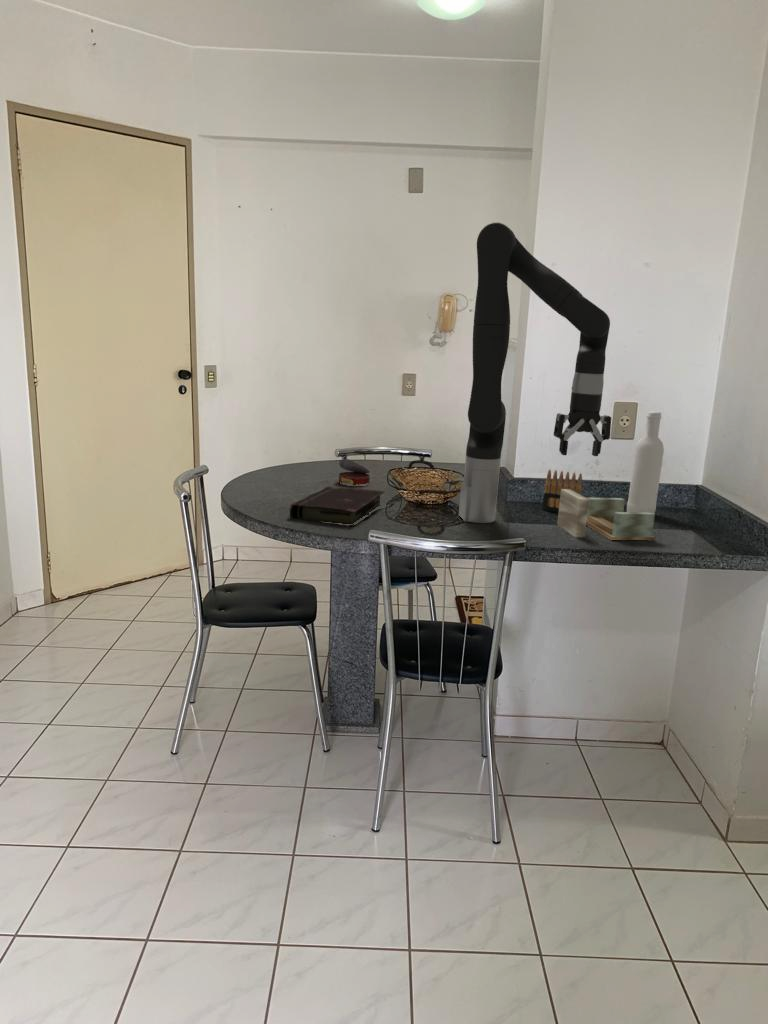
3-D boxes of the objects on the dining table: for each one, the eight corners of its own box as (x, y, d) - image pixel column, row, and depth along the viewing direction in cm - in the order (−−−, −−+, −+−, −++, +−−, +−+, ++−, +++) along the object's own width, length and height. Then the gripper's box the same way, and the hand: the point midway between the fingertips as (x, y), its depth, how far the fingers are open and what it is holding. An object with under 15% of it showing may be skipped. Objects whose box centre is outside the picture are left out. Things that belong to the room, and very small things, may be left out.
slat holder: (610, 540, 191) (614, 513, 189) (581, 522, 208) (584, 497, 206) (654, 540, 193) (658, 514, 191) (621, 522, 210) (624, 498, 208)
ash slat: (575, 537, 192) (579, 499, 190) (557, 525, 204) (561, 488, 201) (584, 537, 193) (589, 499, 190) (565, 525, 204) (570, 489, 202)
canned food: (337, 496, 243) (330, 467, 245) (366, 492, 247) (359, 463, 249) (348, 487, 233) (341, 456, 235) (378, 482, 237) (370, 452, 239)
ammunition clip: (541, 509, 220) (545, 469, 217) (542, 508, 222) (547, 468, 219) (578, 515, 216) (583, 474, 214) (579, 513, 218) (584, 472, 215)
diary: (288, 521, 195) (288, 502, 194) (325, 502, 218) (325, 484, 217) (356, 529, 190) (357, 510, 188) (386, 508, 213) (387, 491, 212)
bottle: (642, 510, 227) (656, 410, 219) (660, 517, 219) (675, 413, 212) (620, 511, 224) (634, 410, 216) (638, 518, 217) (652, 413, 209)
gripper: (566, 391, 185) (558, 457, 188) (620, 394, 187) (611, 458, 191) (554, 389, 192) (547, 452, 196) (606, 391, 194) (598, 453, 198)
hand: (579, 455), depth 193 cm, fingers open, 8 cm apart
